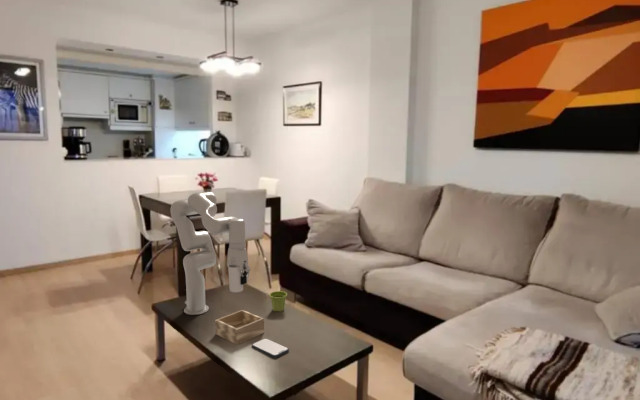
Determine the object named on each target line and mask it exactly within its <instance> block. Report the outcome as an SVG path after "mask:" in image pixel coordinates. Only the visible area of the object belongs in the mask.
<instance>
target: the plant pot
mask: <svg viewBox="0 0 640 400" xmlns="http://www.w3.org/2000/svg"><path fill="white" fill-rule="evenodd" d="M287 296H288V293H287V292H285V291H281V290H277V291H276V290H275V291H272V292H270V293H269V297H270V300H271V301H270V302H271V309H272V311H274V312H283V311H284V310H285V306H286V305H285V304H286V298H287Z"/></svg>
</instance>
